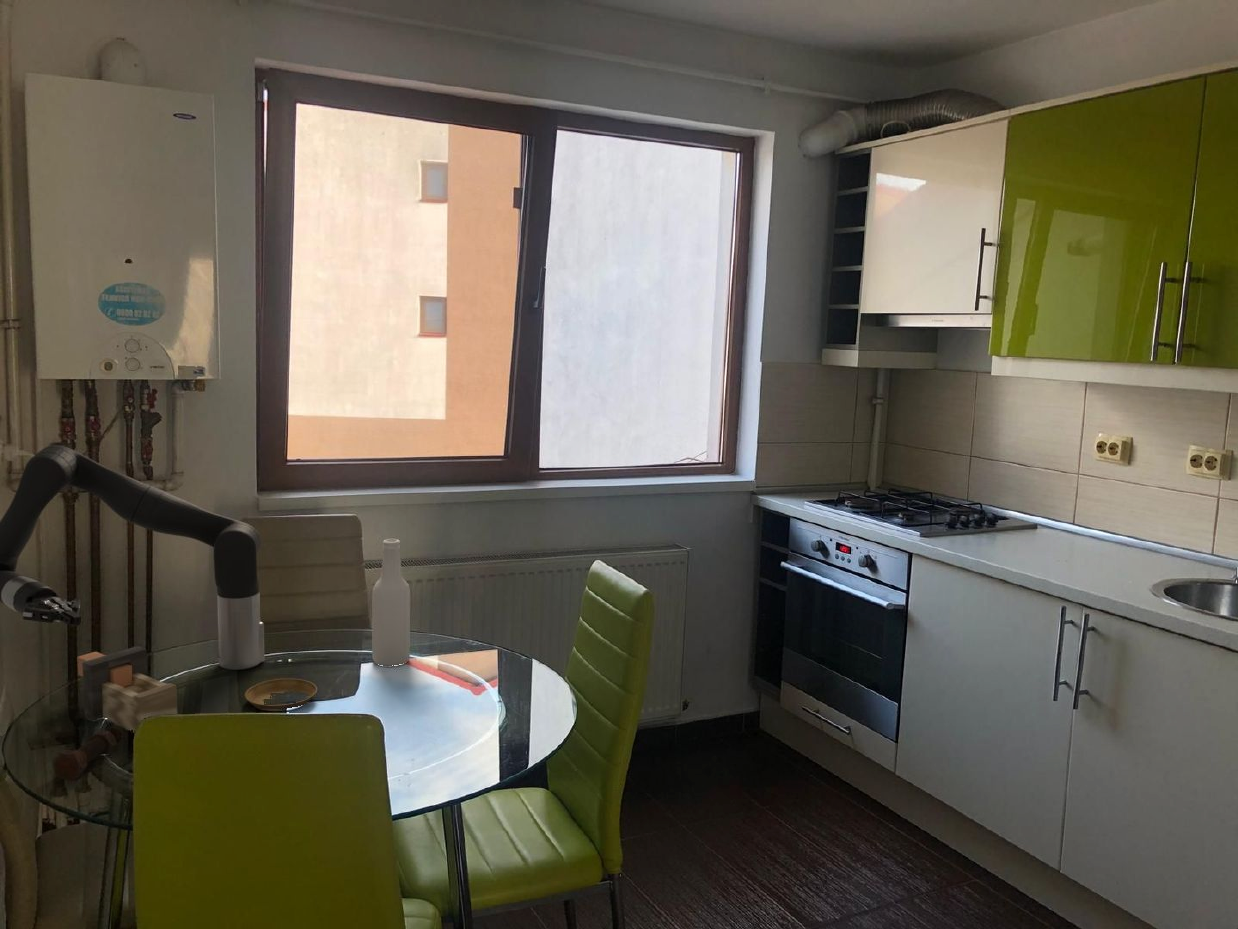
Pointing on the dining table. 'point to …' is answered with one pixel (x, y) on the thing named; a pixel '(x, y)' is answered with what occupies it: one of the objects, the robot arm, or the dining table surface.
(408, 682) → the dining table surface
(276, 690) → the plant saucer
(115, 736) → the bolt
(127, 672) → the peg
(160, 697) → the frame
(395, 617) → the alcohol
